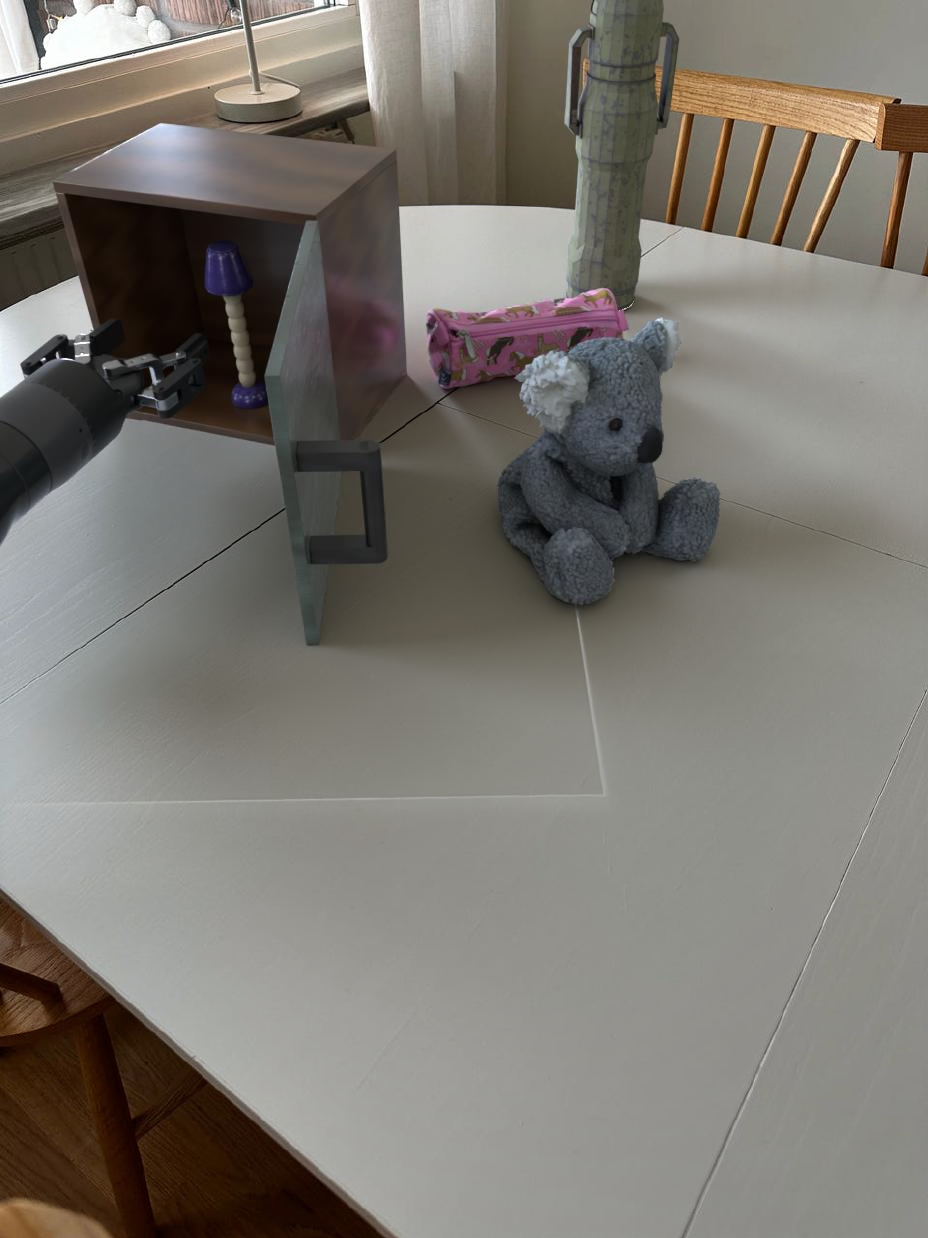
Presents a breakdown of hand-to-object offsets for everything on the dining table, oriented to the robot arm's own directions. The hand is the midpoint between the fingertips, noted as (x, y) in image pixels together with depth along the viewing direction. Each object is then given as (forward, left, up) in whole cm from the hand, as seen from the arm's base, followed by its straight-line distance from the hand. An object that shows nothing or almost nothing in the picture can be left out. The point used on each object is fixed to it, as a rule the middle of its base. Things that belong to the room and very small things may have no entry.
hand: (161, 335), depth 86 cm
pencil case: (+25, +29, -14) cm, 41 cm away
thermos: (+29, +51, -14) cm, 60 cm away
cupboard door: (+20, -6, -14) cm, 25 cm away
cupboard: (0, +16, -14) cm, 21 cm away
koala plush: (+39, +3, -14) cm, 42 cm away
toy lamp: (0, +12, -13) cm, 18 cm away
